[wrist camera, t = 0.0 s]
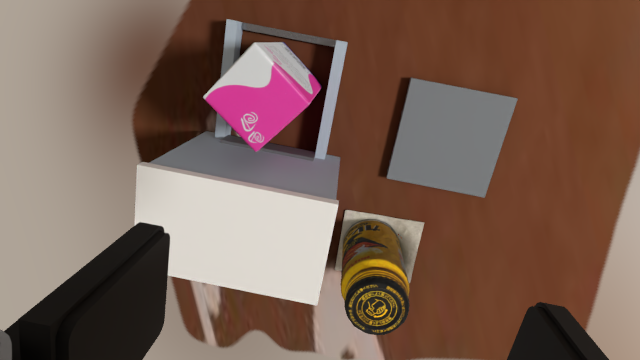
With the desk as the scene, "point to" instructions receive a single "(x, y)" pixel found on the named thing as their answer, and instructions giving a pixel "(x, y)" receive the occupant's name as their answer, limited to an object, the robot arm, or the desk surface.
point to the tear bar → (288, 34)
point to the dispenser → (246, 203)
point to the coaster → (449, 137)
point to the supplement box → (263, 92)
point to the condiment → (377, 269)
